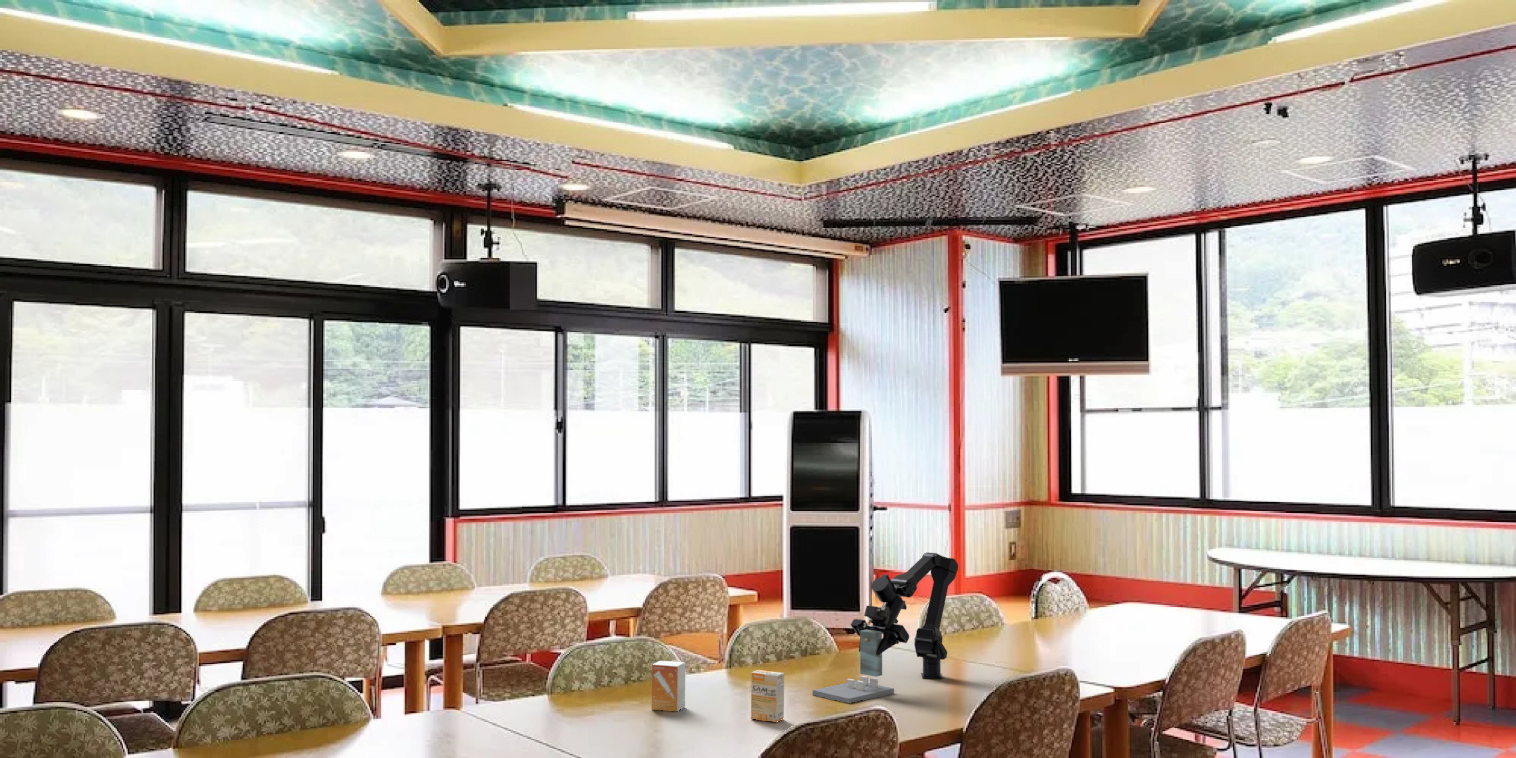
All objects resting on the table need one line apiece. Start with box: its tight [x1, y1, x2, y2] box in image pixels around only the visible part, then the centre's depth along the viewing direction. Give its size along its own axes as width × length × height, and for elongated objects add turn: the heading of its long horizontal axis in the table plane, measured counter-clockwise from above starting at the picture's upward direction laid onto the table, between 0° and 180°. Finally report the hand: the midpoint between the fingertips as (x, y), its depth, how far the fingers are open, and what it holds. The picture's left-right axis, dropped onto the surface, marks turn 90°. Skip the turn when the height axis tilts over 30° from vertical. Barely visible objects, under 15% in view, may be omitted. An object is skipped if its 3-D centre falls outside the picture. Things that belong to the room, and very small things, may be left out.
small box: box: [651, 660, 686, 712], centre depth 334 cm, size 8×6×13 cm
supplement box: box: [750, 669, 785, 723], centre depth 321 cm, size 8×5×13 cm, turn 62°
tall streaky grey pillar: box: [859, 630, 883, 678], centre depth 353 cm, size 4×6×13 cm, turn 48°
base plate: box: [812, 675, 895, 704], centre depth 352 cm, size 20×15×4 cm
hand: (868, 653), depth 352 cm, fingers closed on tall streaky grey pillar, 6 cm apart
